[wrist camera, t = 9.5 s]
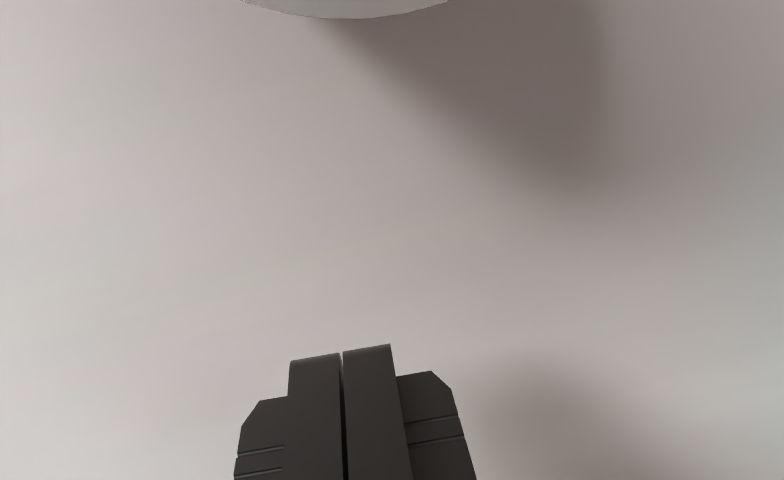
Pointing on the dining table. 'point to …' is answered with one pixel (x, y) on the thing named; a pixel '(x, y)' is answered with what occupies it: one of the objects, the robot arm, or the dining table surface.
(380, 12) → the grey tumbler
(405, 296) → the dining table surface
